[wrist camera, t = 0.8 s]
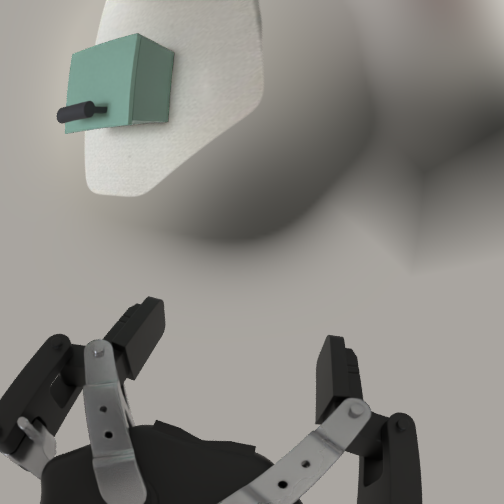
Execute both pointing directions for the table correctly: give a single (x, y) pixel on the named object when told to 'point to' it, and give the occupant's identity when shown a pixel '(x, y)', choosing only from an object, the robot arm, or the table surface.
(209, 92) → the table surface
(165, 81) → the green storage box
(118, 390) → the robot arm
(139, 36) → the green square slab
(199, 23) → the table surface
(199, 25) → the table surface
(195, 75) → the table surface
